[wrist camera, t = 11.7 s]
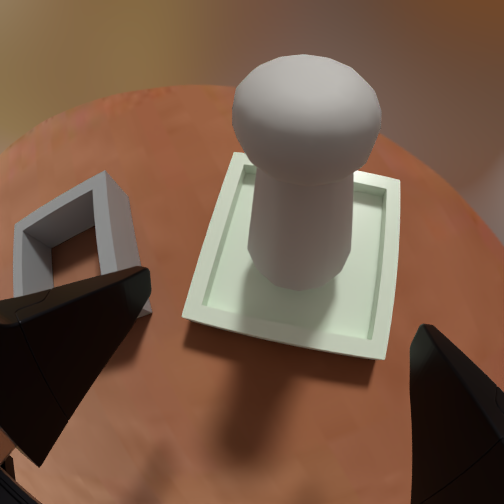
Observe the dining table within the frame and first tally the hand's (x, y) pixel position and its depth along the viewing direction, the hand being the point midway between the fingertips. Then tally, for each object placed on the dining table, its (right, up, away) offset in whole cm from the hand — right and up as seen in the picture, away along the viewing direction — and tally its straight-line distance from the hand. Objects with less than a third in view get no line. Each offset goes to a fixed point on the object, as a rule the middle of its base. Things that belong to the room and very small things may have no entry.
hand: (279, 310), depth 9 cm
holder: (-14, 0, +12) cm, 19 cm away
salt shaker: (+2, +2, +10) cm, 10 cm away
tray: (+3, +2, +11) cm, 11 cm away
